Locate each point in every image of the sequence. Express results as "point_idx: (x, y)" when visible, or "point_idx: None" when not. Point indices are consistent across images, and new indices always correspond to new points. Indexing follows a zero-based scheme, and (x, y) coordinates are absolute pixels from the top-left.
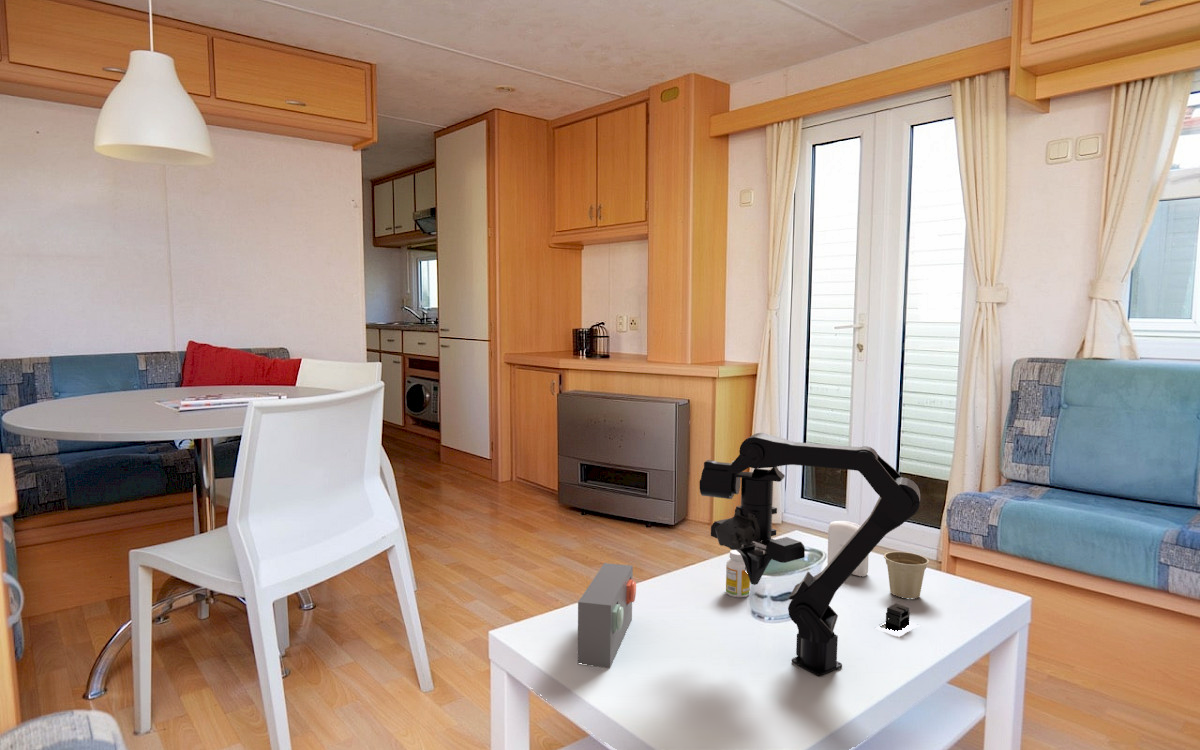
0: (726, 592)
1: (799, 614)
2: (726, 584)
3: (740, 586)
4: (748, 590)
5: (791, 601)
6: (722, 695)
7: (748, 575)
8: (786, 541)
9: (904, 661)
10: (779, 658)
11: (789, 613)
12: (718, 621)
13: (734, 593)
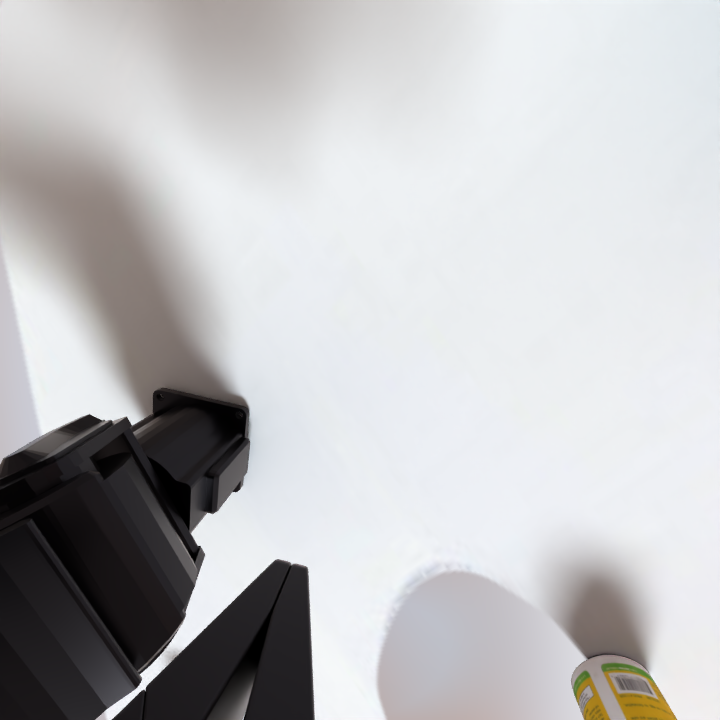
0: (642, 666)
1: (30, 458)
2: (662, 700)
3: (606, 703)
4: (578, 699)
5: (36, 509)
6: (251, 70)
7: (305, 623)
8: None
9: None
10: (283, 406)
11: (115, 468)
12: (554, 490)
13: (610, 667)
